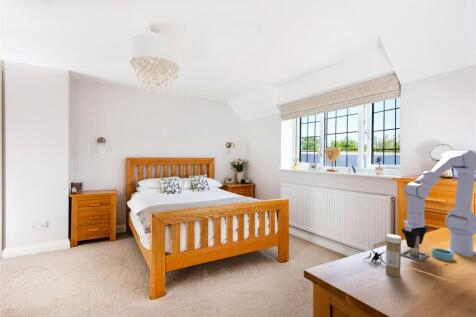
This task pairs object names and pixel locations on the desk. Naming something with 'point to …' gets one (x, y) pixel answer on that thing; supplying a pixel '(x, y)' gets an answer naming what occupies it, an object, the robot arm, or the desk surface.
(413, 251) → the pin
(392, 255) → the sprinkles bottle
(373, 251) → the creature
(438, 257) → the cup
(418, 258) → the tray
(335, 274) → the desk surface
